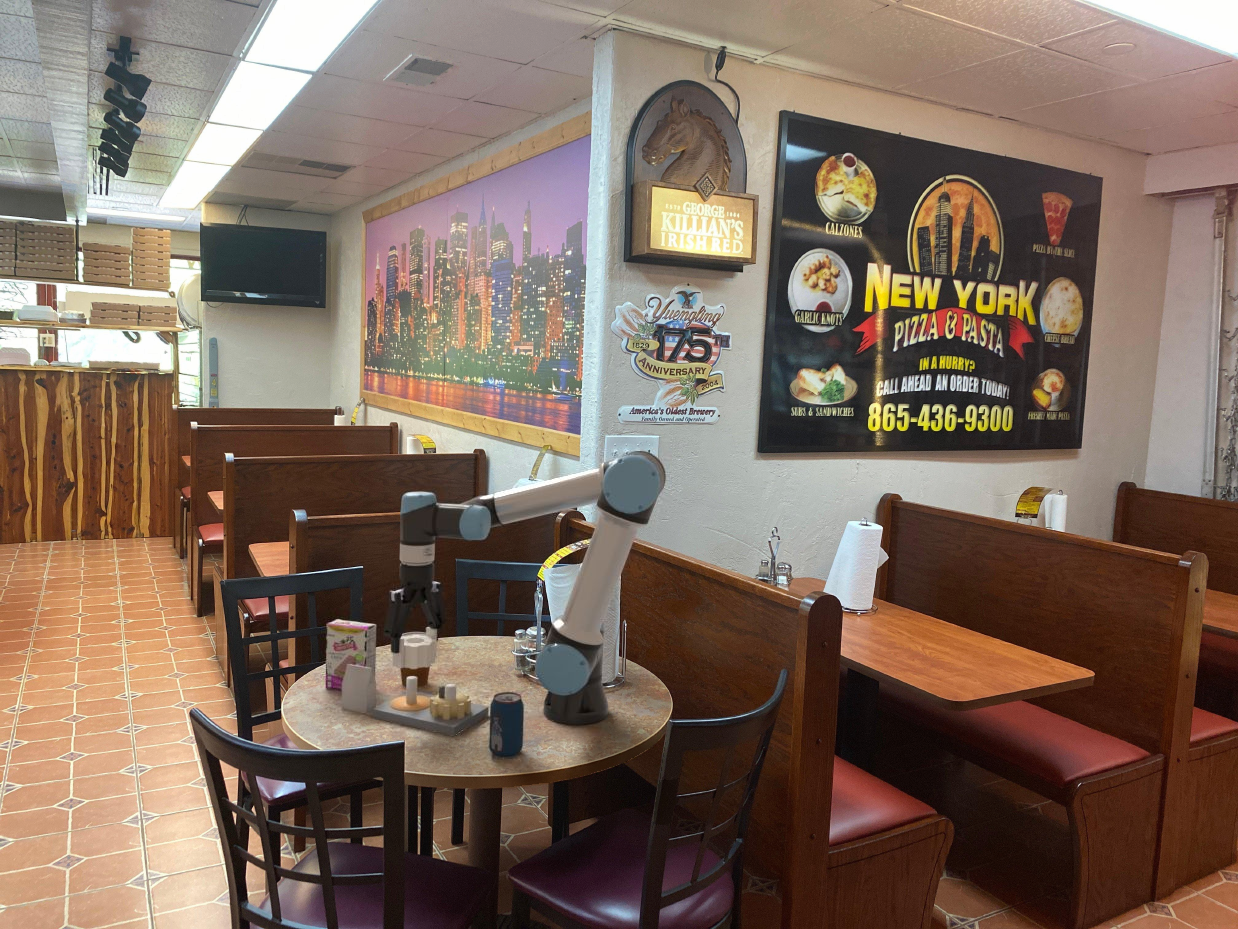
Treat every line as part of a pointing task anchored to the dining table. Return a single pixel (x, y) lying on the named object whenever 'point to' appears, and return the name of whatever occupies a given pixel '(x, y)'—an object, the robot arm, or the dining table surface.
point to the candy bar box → (348, 649)
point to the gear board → (431, 709)
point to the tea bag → (358, 689)
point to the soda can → (506, 725)
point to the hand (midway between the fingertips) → (414, 661)
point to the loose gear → (419, 651)
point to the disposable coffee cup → (419, 672)
